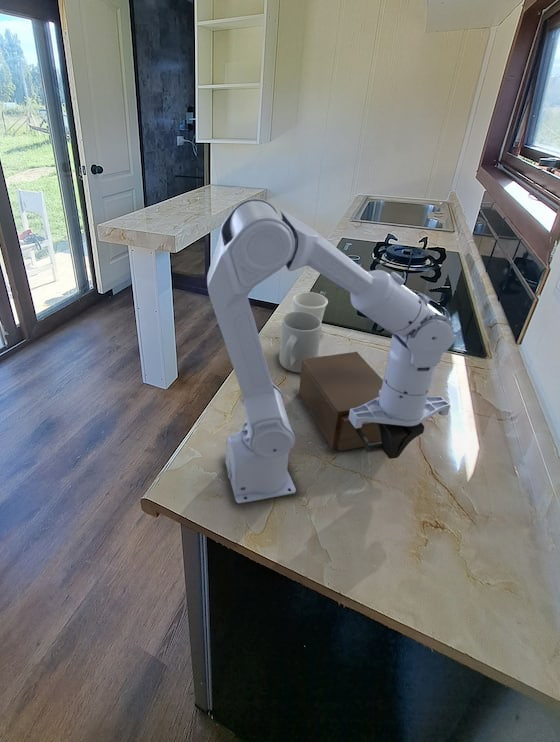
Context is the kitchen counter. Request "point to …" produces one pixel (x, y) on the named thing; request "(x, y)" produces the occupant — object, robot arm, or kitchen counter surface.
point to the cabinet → (336, 389)
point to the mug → (299, 339)
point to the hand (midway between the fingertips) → (389, 453)
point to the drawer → (358, 436)
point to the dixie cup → (310, 303)
